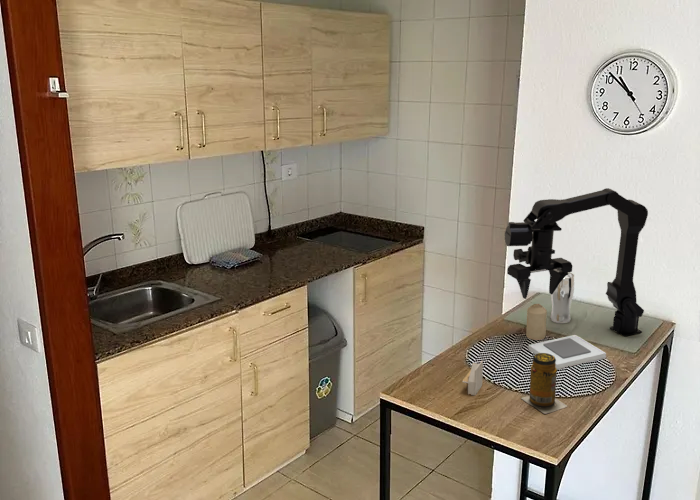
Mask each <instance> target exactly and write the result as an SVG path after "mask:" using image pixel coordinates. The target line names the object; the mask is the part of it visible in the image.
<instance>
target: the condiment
mask: <svg viewBox="0 0 700 500" xmlns="http://www.w3.org/2000/svg"><path fill="white" fill-rule="evenodd" d="M555 362H556V359H555V357H554V356H553V355H551V354H548V353H538V354H536V355H535V354H534V355H533V356H532V365H531V366H530V376H529V377H530V379H529V381H530V382H529V395H526V396H523V397H521V400H523V401H524V402H526V403H527V404H528V405H530V406H532V407H533V408H535V409H536V410H537V411H539V412H541V413H542V414H544V415H545V414H550V413H553V412H557V411H560V410H562V409H565V408H567V407H568V405H566V404H565V403H564V402H562V401H560V400H559V399H558V398H556V387H557V374H558V371H557V370H558V369H556V367H555V366H556V363H555Z"/></svg>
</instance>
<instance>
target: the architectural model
mask: <svg viewBox="0 0 700 500" xmlns="http://www.w3.org/2000/svg"><path fill="white" fill-rule="evenodd" d="M483 361H484V360H481V361H480V362H475V363H474V362H472V364H471V365H472V366H471V368H470V370H469V371H468V373H467V374H466V375H465V376H464V378H463V379H462V383H466V384H467V395H469V394H471V396H476V395H477V394H478V392H479V391H480V390H481V388H482V386H483V372H484V371H483V368H484V365H483Z"/></svg>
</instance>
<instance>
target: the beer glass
mask: <svg viewBox="0 0 700 500" xmlns="http://www.w3.org/2000/svg"><path fill="white" fill-rule="evenodd" d="M567 273H568V275H566V276H565V277H564V278H563V280H562V281H561V282H560V284H559V285H558V287H557V288H556V290H555V291H554V293H553V294H550V299H551V306H552V307H551V314H550V321H552V322H553V323H557V324H568V323H570V322H571V306H572V302H573V298H574V292H575V274H574V273H573V272H567Z"/></svg>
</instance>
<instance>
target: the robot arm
mask: <svg viewBox="0 0 700 500" xmlns="http://www.w3.org/2000/svg"><path fill="white" fill-rule="evenodd" d="M605 206H610V207H611V208H613V209H615V210H617V221H618V225H619V228H620V238H619V239H620V240H619V246H618V254H617V262H616V263H617V264H616V272H615V277H614V278H613V280H612V281H607V283H606V284H607V287H606V288H607V289H606V292H605V295H606V297H607V299H608V301H609V302H610V303H611V304H612V307H613V308H615V309H616V311H615V312H614V317H613V322H612V326H611V325H610V326H609V329H610V330H612V331H613V332H616V333H617V334H619V335H621V336H623V337H629V336H632V335H636V334H641V333H642V330H640V329H639V328H638V327H639V321H640V318H641V317H642V316H643V314H644V312H645V309H644V308H642V307H641V306H640V305H639V304H638V303H637V290H636V287H635V284H634V274H635V269H636V268H635V266H636V258H637V250H638V245H639V244H638V243H639V236H640V233H641V231H642V230H643V229H644V227H645V226H646V223H647V220H648V216H649V212H648V211H649V210H648V208H647V207H646V206H645V205H643V204H641V203H640V202H637V201H636V200H633V199H627V198H625V197H624V196H622V195H620V194H619V193H618V192H617V191H615V190H614V189H612V188H604V189H602V190H596V191H592V192H589V193H585V194H581V195H577V196H573V197H572V196H571V197H568V198H564V199H556V198H555V199H554V198H552V199H551V198H549V199H540V200H537V201H535V202H534V204H533V206H532V208H531V211H530V212H529V213H528V214H527V215H526V217H525V218H524V219H523V222H514V221H508V222H507V226H506V229H505V231H504V243H505V245H506V247H527V250H523V249H522V248H516V249H513V259H514V260H515V261H518V263H514V264H509V266H508V267H507V272H506V274H507V275H508V276H510V277H512V278H513V279H515V280H516V282H517V283H518V286H519V289H520V293H521V295H522V299H525V300H526V299H527V297H528V294H529V289H530V285H531V281H532V279H531V278H530V277H531V274H532V273H533V274H534V273H540V272H544V271H545V272H546V271H548V273H549V283H548V284H549V286H548V287H549V288H548V293H549V294H550V295H551V294H553V293H554V291H555V290H556V288H557V287H558V285H559V284H560V282H561V281H562V280H563V278H564V277H565V276H566V275H568V273H567V272H570V273H573V264H572V262H571V261H569V260H568V259H565V258H563V257H556V258H552V256H553V255H554V254H556V250H555V249H553V242H554V232H561V231H562V227H560V225H559V224H558V223H557V222H559V221H561V220H563V219H565V218H566V217H567V216H570V215H573V214H576V213H582V212H585V211H589V210H593V209H598V208H601V207H605ZM530 245H531V246H530ZM523 262H525V264H526V265H529V266H526V265H524V264H521V263H523Z"/></svg>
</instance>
